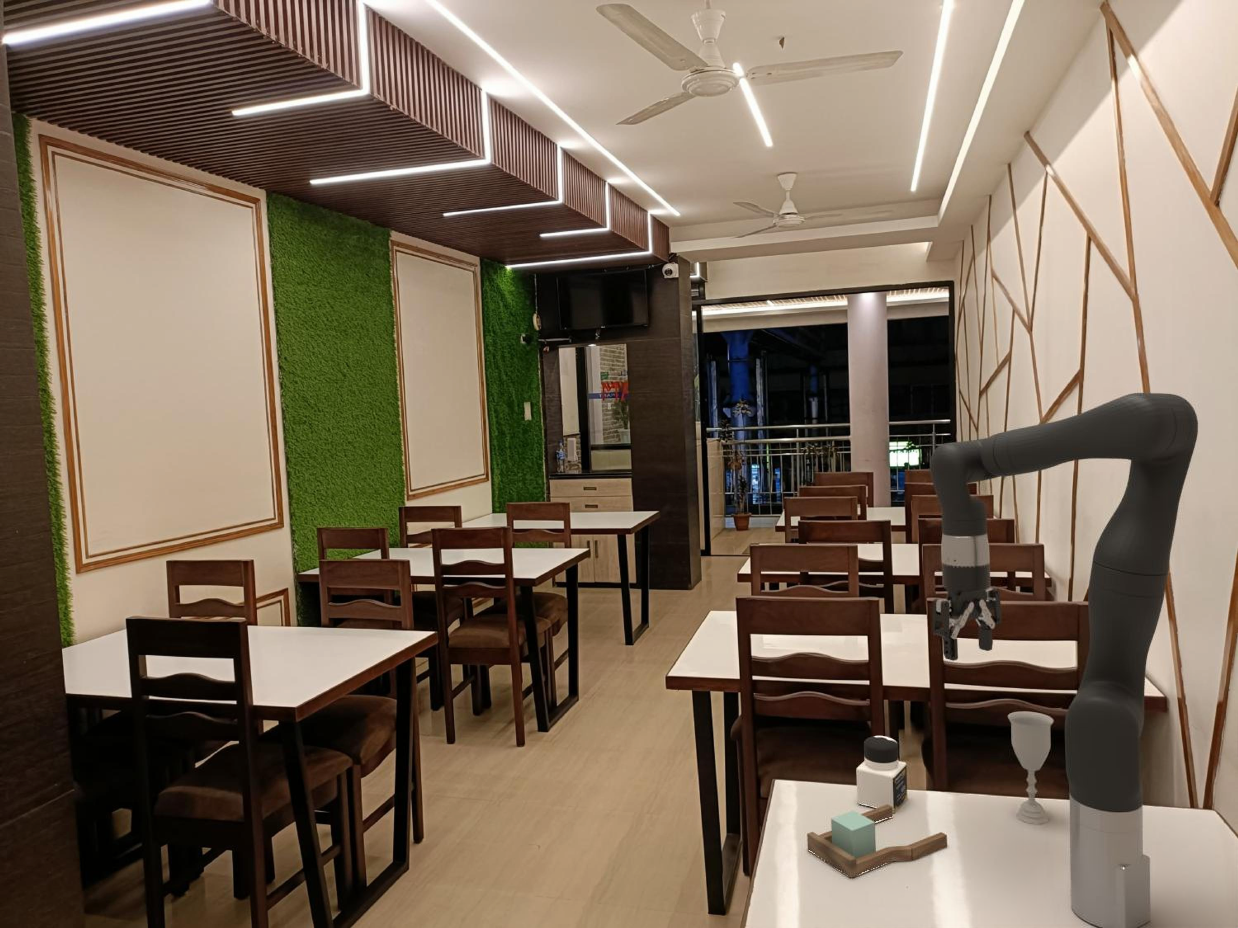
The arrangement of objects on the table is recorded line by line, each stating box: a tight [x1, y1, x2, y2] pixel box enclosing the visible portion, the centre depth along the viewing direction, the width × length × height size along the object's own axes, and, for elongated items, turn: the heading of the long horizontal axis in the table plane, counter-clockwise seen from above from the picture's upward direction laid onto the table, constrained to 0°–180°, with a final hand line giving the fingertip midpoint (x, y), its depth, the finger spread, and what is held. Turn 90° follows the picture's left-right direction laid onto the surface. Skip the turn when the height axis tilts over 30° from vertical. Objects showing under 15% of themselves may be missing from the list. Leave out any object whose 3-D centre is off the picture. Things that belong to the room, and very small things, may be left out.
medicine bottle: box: [855, 735, 908, 814], centre depth 165 cm, size 7×7×12 cm
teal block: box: [830, 810, 877, 859], centre depth 147 cm, size 5×5×6 cm
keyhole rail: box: [806, 804, 948, 879], centre depth 149 cm, size 13×20×3 cm
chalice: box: [1007, 711, 1054, 825], centre depth 156 cm, size 7×7×18 cm
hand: (968, 654), depth 149 cm, fingers open, 8 cm apart
